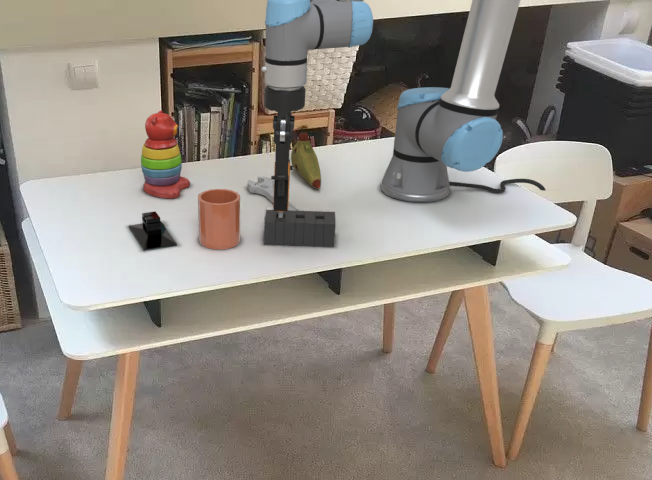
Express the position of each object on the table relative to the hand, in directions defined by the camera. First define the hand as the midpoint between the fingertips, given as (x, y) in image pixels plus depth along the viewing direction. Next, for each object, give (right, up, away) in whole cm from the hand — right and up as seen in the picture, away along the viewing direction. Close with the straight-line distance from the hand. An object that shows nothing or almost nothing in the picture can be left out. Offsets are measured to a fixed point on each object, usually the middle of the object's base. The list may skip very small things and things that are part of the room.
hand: (280, 206), depth 151 cm
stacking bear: (-25, +8, +28) cm, 38 cm away
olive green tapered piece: (+9, +12, +33) cm, 36 cm away
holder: (+4, -6, +3) cm, 8 cm away
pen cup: (-12, -6, +3) cm, 14 cm away
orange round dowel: (0, -6, +4) cm, 7 cm away
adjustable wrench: (0, +4, +20) cm, 20 cm away
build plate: (-26, -5, +6) cm, 27 cm away
